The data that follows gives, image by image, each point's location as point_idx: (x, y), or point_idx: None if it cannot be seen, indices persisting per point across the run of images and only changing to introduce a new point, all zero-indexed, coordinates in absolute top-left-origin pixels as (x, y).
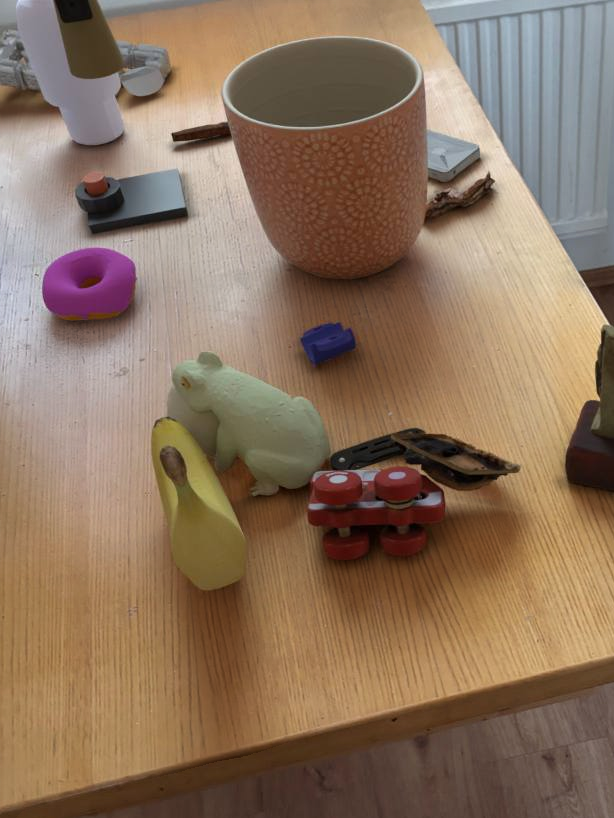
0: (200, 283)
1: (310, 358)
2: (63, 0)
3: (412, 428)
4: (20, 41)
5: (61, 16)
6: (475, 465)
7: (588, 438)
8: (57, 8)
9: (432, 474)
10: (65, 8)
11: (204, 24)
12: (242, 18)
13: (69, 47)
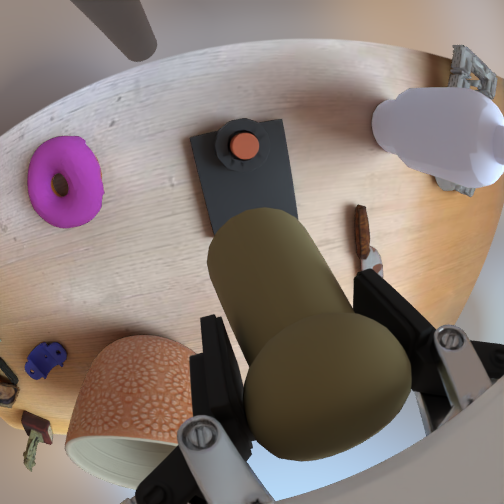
0: (101, 266)
1: (40, 345)
2: (190, 382)
3: (15, 380)
4: (488, 83)
5: (202, 327)
6: (13, 392)
7: (27, 427)
8: (203, 339)
9: None
10: (190, 364)
11: (492, 211)
12: (488, 237)
13: (230, 258)
